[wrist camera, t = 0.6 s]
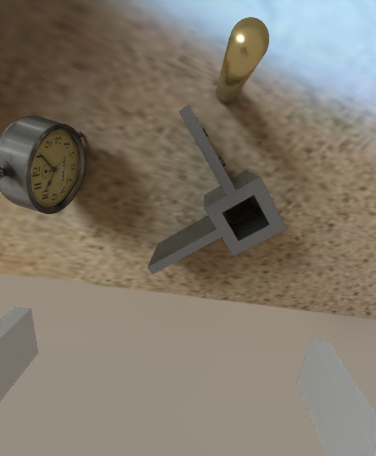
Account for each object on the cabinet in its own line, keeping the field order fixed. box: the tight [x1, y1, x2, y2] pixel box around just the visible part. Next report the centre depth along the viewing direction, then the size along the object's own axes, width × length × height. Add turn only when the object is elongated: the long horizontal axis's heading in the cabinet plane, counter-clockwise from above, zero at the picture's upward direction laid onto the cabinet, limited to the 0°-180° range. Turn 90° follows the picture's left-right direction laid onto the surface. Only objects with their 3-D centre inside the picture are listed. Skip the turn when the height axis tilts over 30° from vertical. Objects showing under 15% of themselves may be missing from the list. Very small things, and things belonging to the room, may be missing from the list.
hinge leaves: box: [148, 105, 287, 274], centre depth 31 cm, size 18×18×8 cm
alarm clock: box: [0, 116, 85, 214], centre depth 27 cm, size 11×5×16 cm, turn 164°
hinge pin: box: [216, 17, 269, 103], centre depth 24 cm, size 3×3×15 cm
